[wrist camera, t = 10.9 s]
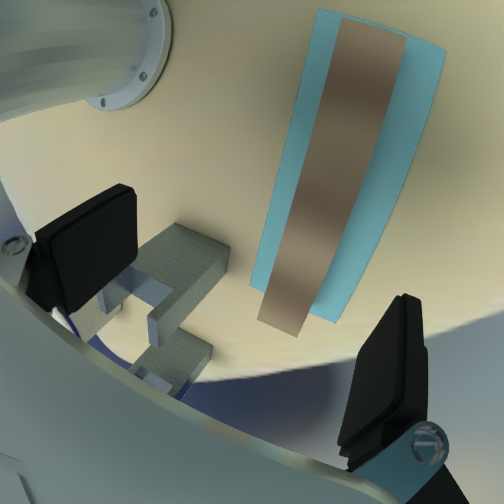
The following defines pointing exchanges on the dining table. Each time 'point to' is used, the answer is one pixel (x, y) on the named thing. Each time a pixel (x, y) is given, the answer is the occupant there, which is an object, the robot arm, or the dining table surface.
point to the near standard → (168, 278)
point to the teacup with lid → (86, 319)
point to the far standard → (173, 363)
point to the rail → (332, 168)
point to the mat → (379, 170)
